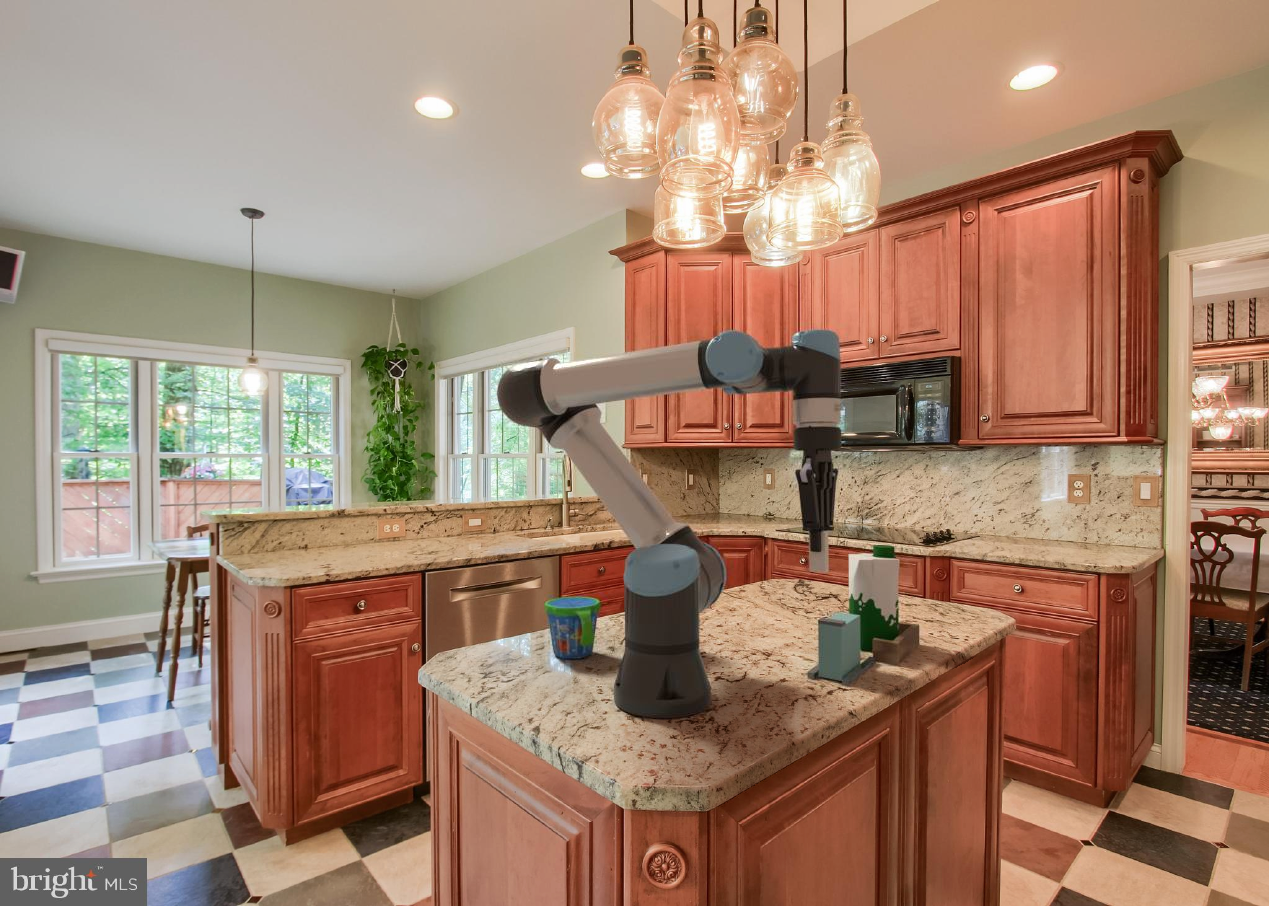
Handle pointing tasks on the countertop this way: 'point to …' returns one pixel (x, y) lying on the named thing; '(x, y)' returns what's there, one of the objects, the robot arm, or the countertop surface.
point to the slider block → (838, 645)
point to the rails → (852, 676)
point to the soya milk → (875, 594)
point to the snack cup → (572, 625)
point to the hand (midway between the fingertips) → (819, 571)
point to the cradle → (897, 645)
